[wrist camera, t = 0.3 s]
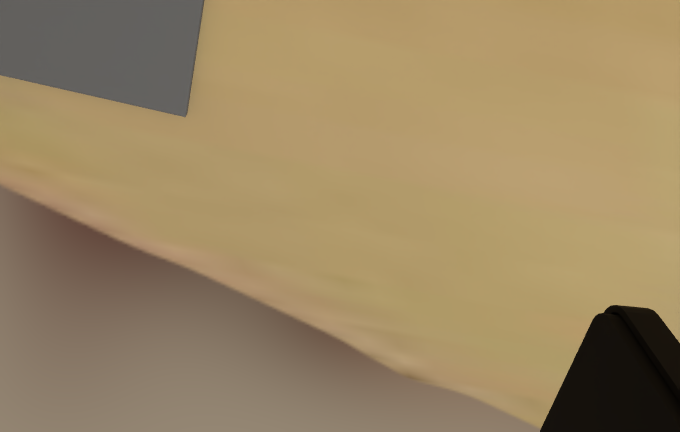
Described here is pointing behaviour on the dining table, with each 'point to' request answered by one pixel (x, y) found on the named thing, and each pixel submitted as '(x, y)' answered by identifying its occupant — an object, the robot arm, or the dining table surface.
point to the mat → (105, 48)
